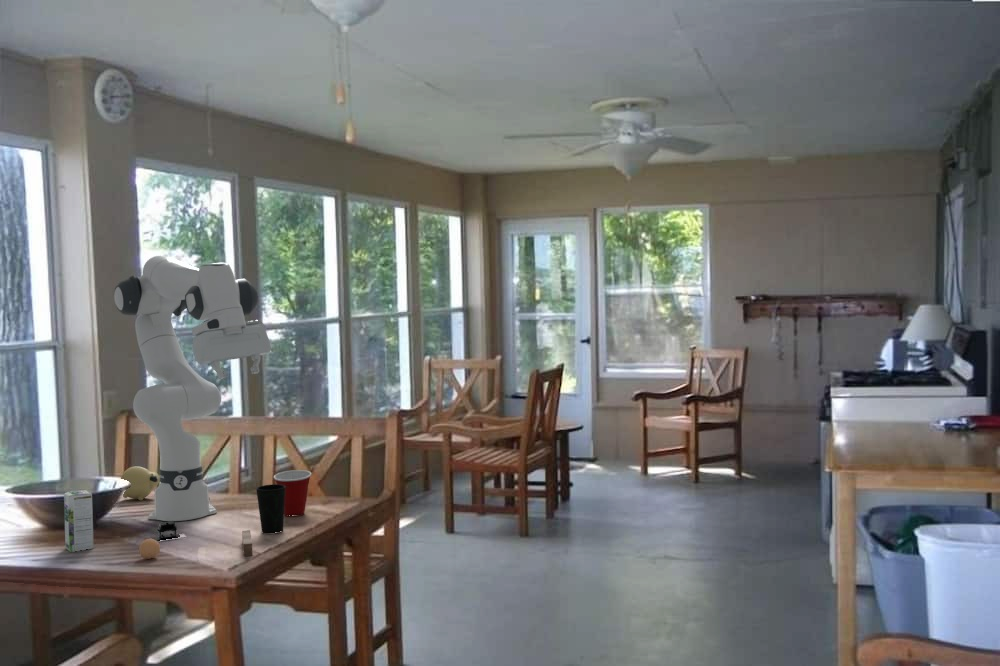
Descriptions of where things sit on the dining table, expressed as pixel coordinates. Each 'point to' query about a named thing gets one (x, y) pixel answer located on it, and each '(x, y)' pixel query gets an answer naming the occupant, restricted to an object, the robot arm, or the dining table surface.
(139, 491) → the pale yellow round toy
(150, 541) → the ball
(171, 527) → the black rectangular container
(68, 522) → the syrup box
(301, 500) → the plastic cup
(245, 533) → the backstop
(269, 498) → the cup
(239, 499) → the dining table surface
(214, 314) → the robot arm
